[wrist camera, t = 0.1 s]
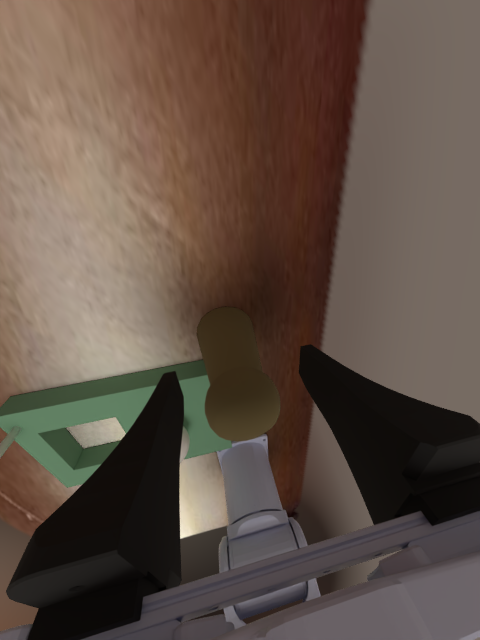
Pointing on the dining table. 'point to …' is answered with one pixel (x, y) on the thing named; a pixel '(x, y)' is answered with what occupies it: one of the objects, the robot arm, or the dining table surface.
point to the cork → (235, 377)
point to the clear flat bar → (9, 439)
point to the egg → (184, 444)
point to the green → (97, 404)
